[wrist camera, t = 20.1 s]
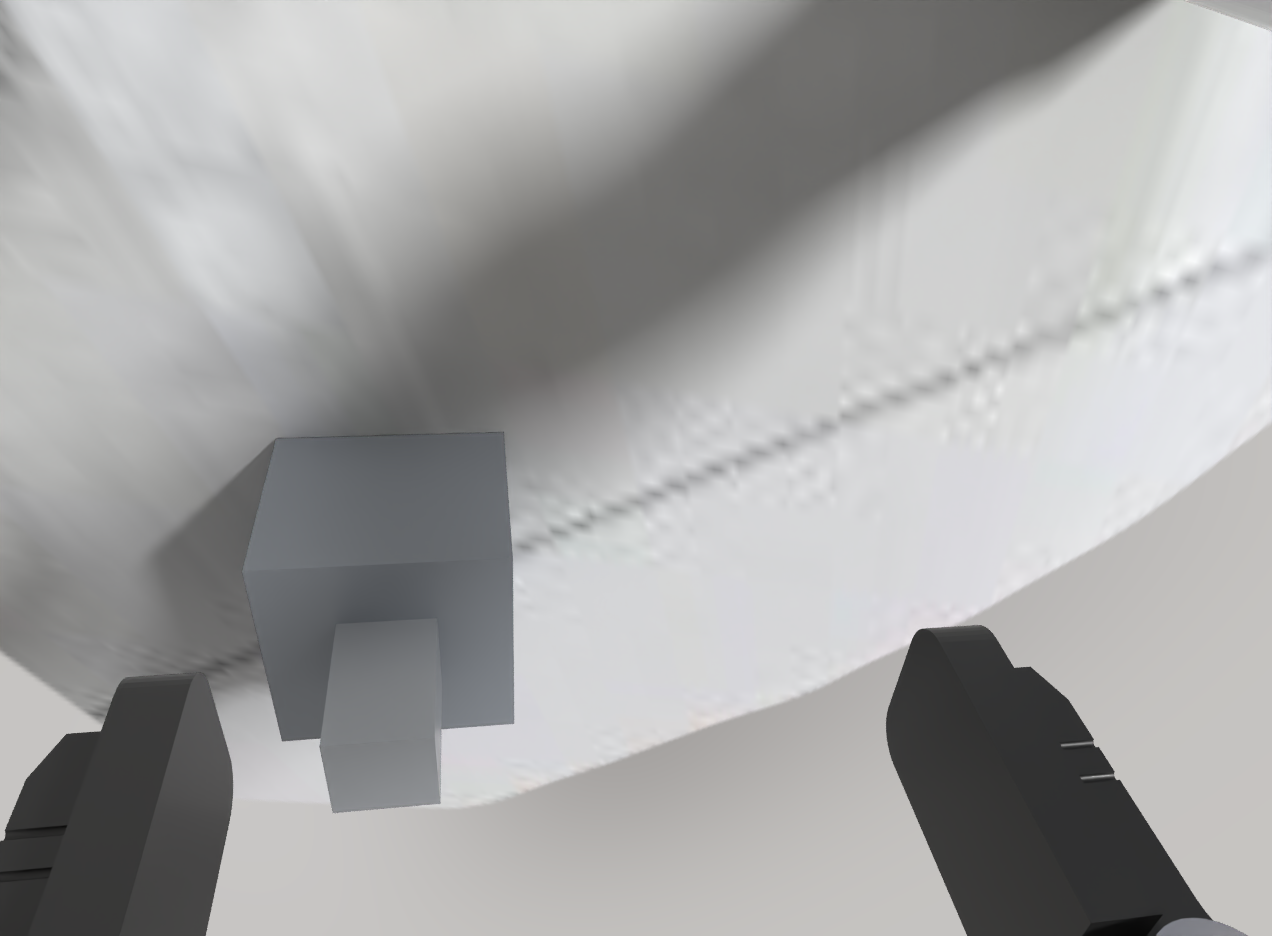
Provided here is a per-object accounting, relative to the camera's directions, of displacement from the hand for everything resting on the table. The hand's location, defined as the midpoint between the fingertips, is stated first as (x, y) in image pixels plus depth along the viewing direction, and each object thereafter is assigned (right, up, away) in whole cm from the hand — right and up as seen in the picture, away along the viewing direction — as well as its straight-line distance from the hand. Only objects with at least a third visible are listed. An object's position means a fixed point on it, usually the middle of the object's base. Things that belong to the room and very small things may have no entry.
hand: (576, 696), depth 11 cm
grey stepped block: (-11, 0, +36) cm, 38 cm away
